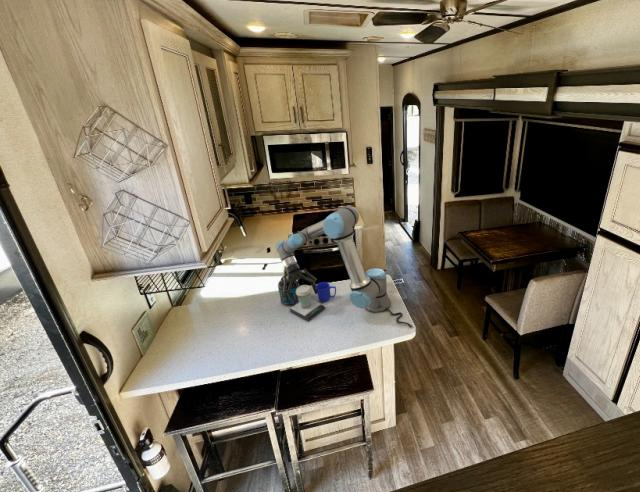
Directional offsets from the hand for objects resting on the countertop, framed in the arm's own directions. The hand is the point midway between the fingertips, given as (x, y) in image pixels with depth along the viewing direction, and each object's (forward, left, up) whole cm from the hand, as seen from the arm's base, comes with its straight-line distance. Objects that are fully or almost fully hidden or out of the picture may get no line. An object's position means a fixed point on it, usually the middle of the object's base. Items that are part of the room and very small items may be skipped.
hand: (306, 298), depth 188 cm
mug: (-1, -14, -9) cm, 17 cm away
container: (+17, -1, -9) cm, 19 cm away
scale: (+1, 0, -9) cm, 9 cm away
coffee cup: (+2, 0, -6) cm, 7 cm away
